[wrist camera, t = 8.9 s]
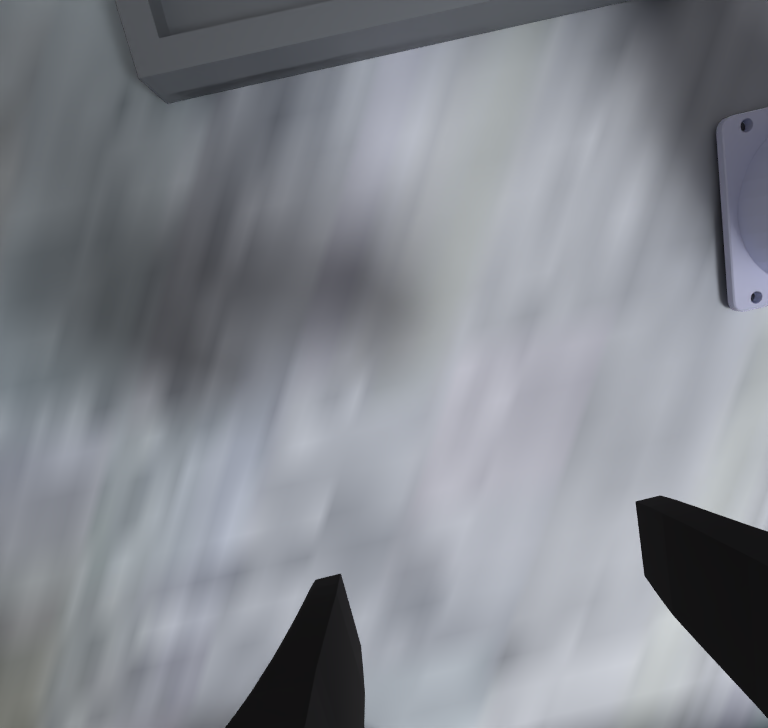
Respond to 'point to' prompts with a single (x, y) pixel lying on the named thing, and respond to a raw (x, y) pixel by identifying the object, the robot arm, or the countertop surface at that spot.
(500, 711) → the countertop surface
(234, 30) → the tray
